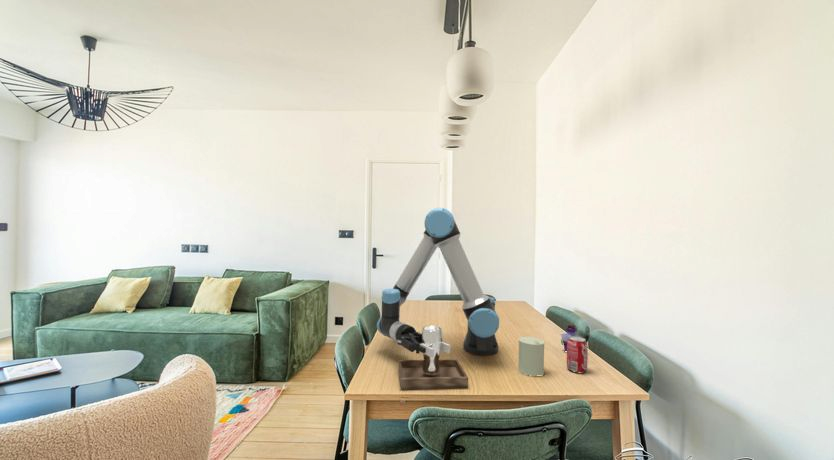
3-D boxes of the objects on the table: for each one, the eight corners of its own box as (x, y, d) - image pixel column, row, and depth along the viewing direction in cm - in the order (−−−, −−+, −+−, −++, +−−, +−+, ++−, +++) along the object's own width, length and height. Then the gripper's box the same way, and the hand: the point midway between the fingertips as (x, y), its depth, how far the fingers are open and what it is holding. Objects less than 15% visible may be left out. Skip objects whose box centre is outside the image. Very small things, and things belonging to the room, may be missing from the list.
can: (531, 378, 117) (532, 344, 117) (512, 369, 125) (513, 337, 126) (549, 374, 121) (550, 341, 122) (530, 365, 130) (531, 334, 130)
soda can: (585, 368, 127) (586, 337, 128) (588, 375, 121) (589, 342, 121) (565, 365, 130) (566, 334, 130) (567, 372, 123) (568, 340, 123)
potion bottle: (556, 348, 149) (557, 321, 149) (575, 348, 150) (576, 322, 150) (566, 355, 141) (566, 327, 141) (586, 355, 141) (586, 327, 141)
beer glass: (439, 376, 111) (440, 331, 112) (419, 374, 113) (420, 330, 113) (442, 368, 118) (443, 326, 118) (423, 366, 120) (424, 324, 120)
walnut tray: (457, 368, 125) (457, 359, 125) (467, 388, 109) (468, 377, 109) (398, 369, 122) (398, 360, 122) (400, 390, 106) (400, 379, 107)
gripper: (422, 339, 136) (462, 356, 117) (381, 347, 125) (417, 368, 106) (423, 320, 136) (462, 335, 117) (381, 327, 125) (418, 345, 106)
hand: (441, 351), depth 112 cm, fingers closed on beer glass, 6 cm apart
